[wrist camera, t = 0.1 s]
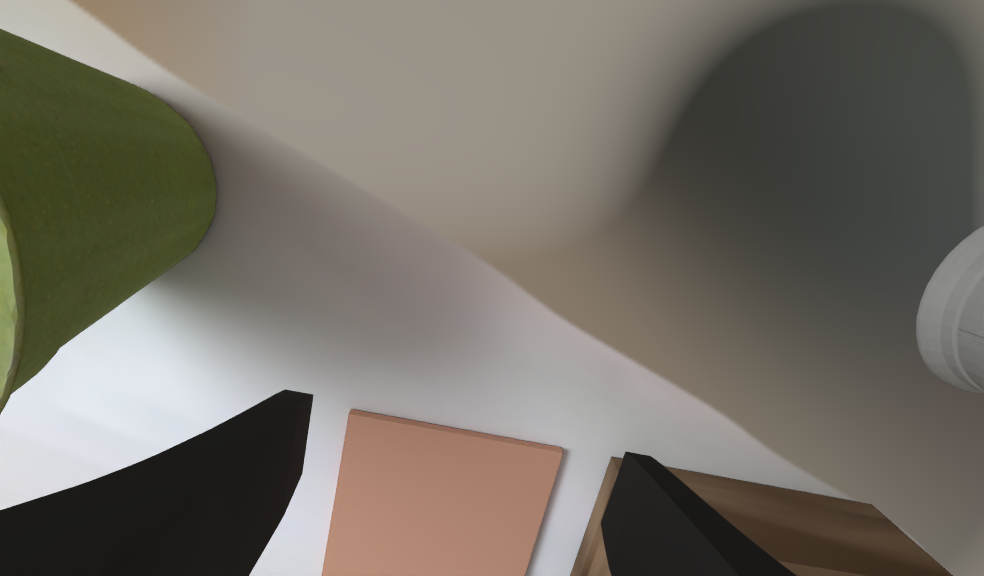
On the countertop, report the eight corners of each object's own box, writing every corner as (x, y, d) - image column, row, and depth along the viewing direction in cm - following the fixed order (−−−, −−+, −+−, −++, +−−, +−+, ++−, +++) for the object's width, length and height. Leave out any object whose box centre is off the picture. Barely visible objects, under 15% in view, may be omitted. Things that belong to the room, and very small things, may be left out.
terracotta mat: (494, 662, 26) (494, 670, 25) (312, 637, 25) (309, 645, 24) (561, 447, 22) (563, 452, 22) (351, 409, 21) (348, 413, 21)
